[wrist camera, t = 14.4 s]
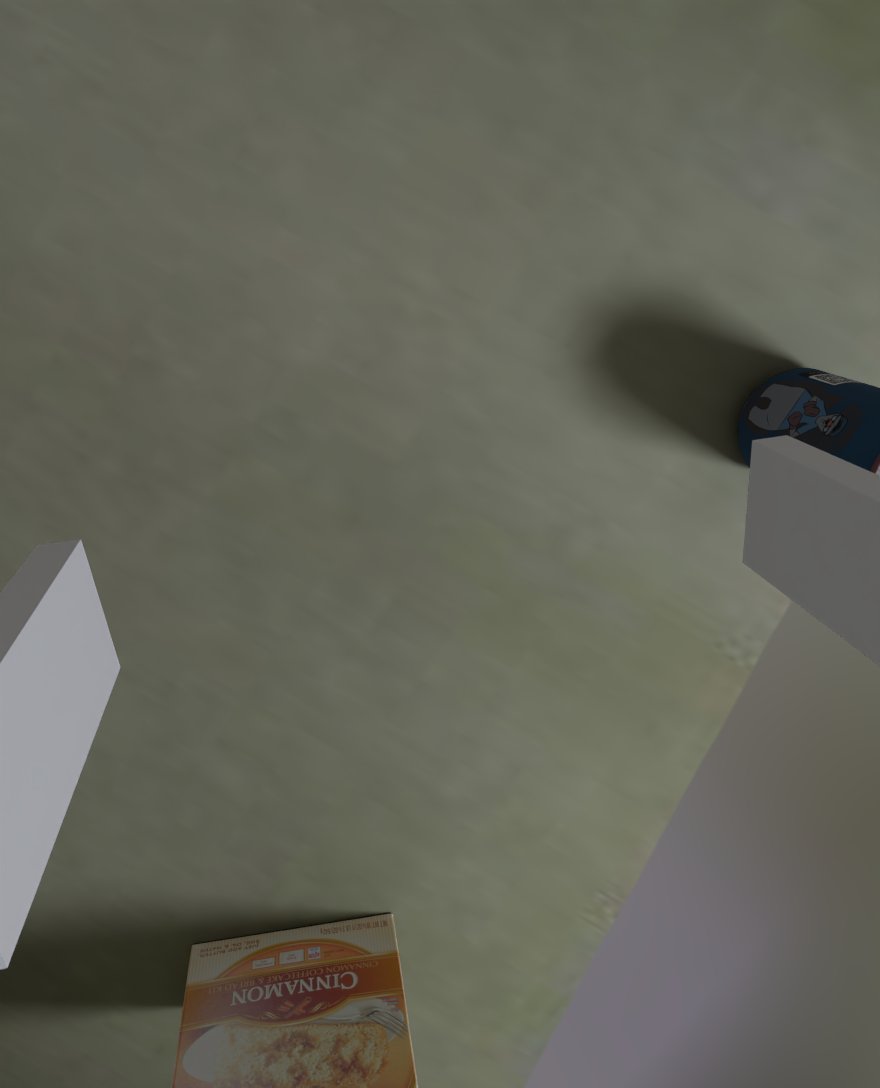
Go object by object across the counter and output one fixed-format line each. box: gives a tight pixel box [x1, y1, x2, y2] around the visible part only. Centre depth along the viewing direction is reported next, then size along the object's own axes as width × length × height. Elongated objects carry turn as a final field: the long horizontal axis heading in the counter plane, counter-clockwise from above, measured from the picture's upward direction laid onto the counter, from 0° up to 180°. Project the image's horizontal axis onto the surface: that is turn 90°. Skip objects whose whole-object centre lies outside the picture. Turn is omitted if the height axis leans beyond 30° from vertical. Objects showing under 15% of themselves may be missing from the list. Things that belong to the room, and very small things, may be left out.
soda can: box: [738, 368, 880, 476], centre depth 42 cm, size 7×7×12 cm
